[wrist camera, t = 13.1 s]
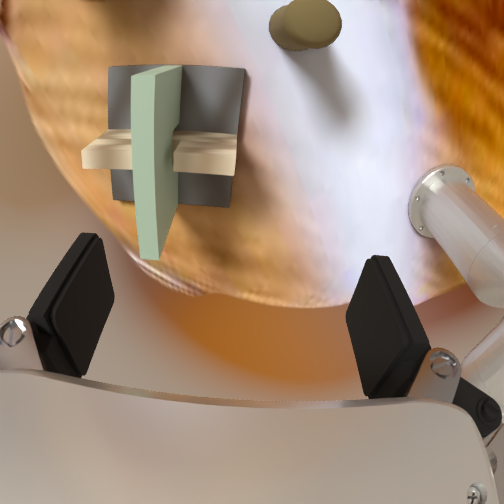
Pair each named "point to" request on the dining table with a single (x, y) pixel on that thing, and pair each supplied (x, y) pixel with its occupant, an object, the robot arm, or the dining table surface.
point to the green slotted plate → (154, 154)
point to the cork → (305, 25)
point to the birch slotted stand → (178, 134)
